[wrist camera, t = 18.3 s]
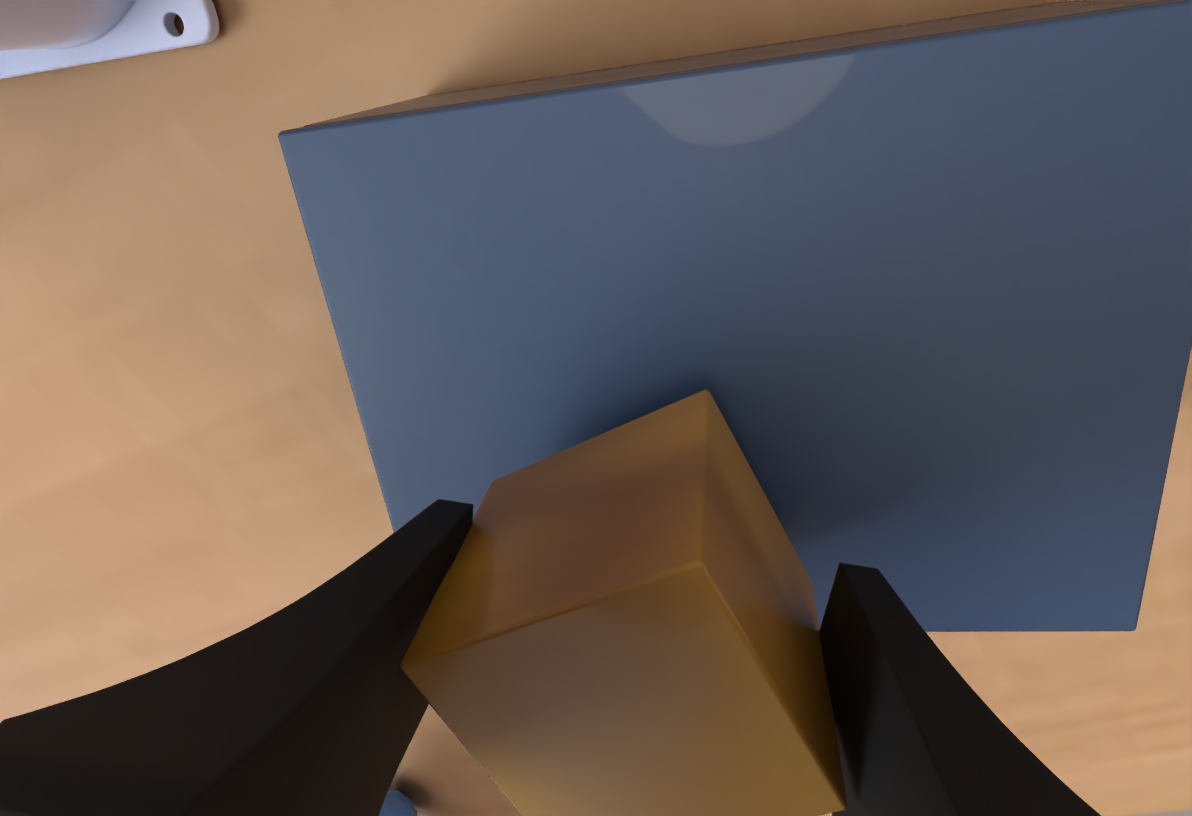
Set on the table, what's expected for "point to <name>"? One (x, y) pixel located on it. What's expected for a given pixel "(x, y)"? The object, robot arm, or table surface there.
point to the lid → (804, 295)
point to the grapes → (397, 805)
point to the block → (635, 634)
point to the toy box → (751, 54)
